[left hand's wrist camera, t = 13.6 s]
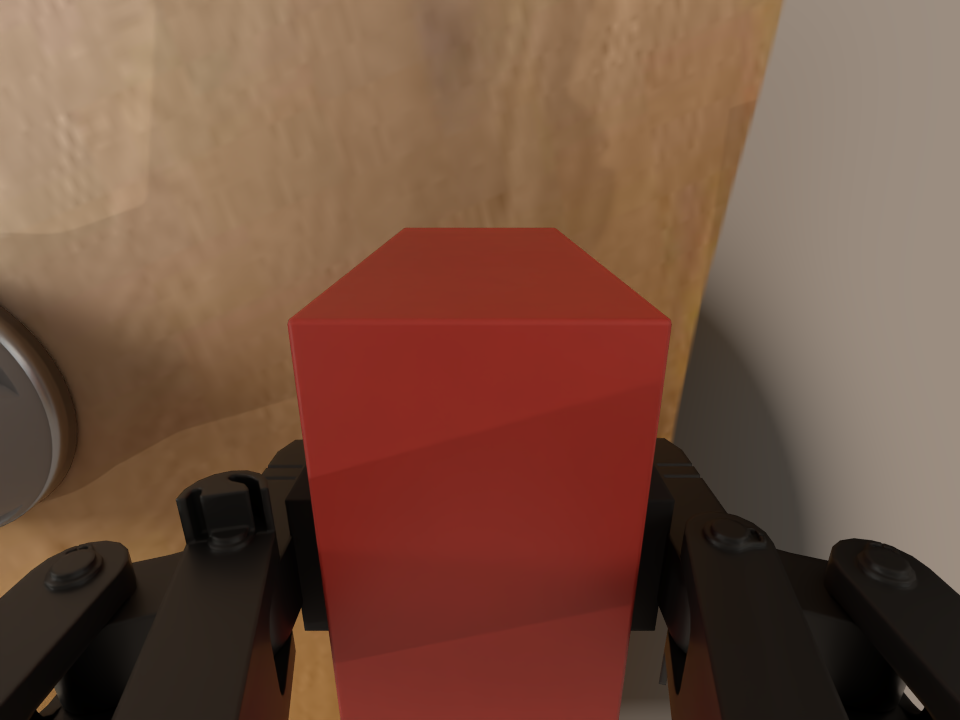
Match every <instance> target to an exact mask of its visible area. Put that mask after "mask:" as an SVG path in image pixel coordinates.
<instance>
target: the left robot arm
mask: <svg viewBox="0 0 960 720" xmlns="http://www.w3.org/2000/svg"><path fill="white" fill-rule="evenodd" d="M76 443H77V422H76V416H75V410H74V406H73V402H72V399H71V396H70V393H69V391H68V388H67V385H66V383H65V381H64V379H63V377H62V375H61V373H60V371H59V370H58V368H57V366H56V365H55V363H54V361H53V360H52V358H51V357H50V356H49V354H48V353H47V351H46V350H45V349H44V347H43V346H42V345H41V344H40V343H39V341H38V340H37V339H36V338H35V337H34V336H33V335H32V334H31V333H30V332H29V330H28V329H27V328H26V327H25V326H24V325H23V324H22V323H20V322H19V321H18V320H17V319H16V318H15V317H14V316H13V315H11V314H10V313H9V312H8V311H6V310H5V309H4V308H2V307H1V306H0V527H1V526H4V525H6V524H8V523H10V522H12V521H14V520H15V519H17V518H19V517H20V516H22V515H23V514H24V513H26V512H27V511H28V510H30V509H31V508H32V507H33V506H35V505H36V504H37V503H39V502H40V501H41V500H43V499H44V498H45V497H47V496H48V495H49V494H50V493H51V492H52V491H54V490H55V488H56V487H57V486H58V485H59V484H60V483H61V482H62V480H63V479H64V477H65V476H66V474H67V472H68V470H69V468H70V466H71V464H72V461H73V458H74V454H75V449H76ZM176 502H177V506H178V511H179V515H180V519H181V523H182V527H183V531H184V535H185V539H186V546H185V549H184V551H182V552H179V553H175V554H172V555H167V556H163V557H158V558H153V559H149V560H144V561H139V562H134V563H132V562H131V558H130V555H129V551H128V549H127V548H126V547H125V546H123V545H122V544H121V543H118V542H112V541H99V542H90V543H86V544H81V545H79V546H74V547H72V548H69V549H66V550H64V551H63V552H61V553H59V554H57V555H54V556H52V557H50V558H48V559H47V560H45V561H44V562H43V563H41V564H40V565H38V566H37V567H36V568H34V569H33V570H31V571H30V572H29V573H28V574H27V575H26V576H25V577H24V578H22V579H21V580H20V581H19V582H18V583H17V584H16V585H15V586H13V587H12V588H11V589H10V590H9V591H8V592H7V593H6V594H5V595H3V596H2V597H1V598H0V720H288V718H289V708H290V699H291V690H292V680H293V671H294V662H295V652H296V650H295V644H294V637H293V631H292V629H293V627H294V624H295V622H296V619H297V617H298V614H299V612H300V609H301V608H302V615H303V621H304V627H305V631H329V629H328V621H327V614H326V606H325V599H324V591H323V584H322V577H321V569H320V562H319V554H318V547H317V539H316V532H315V525H314V517H313V510H312V502H311V495H310V487H309V480H308V473H307V465H306V458H305V450H304V443H303V440H295V441H293V442H292V443H290V444H289V445H287V446H286V447H284V448H283V449H281V450H280V451H278V452H277V454H276V455H275V457H274V458H273V459H272V461H271V462H270V464H269V465H268V468H266V469H265V471H264V472H263V473H262V475H261V474H260V473H256V472H252V471H228V472H224V473H219V474H214V475H212V476H209V477H207V478H204V479H202V480H199V481H197V482H196V483H194V484H192V485H191V486H189V487H188V488H186V489H185V490H184V491H183V492H182V493H181V494H180V495H179V497H178V498H177V499H176ZM658 606H659V608H660V610H661V612H662V615H663V617H664V620H665V622H666V625H667V627H668V631H667V637H666V643H665V649H664V655H663V661H662V667H661V673H660V680H659V684H663V685H666V681H667V679H668V688H669V698H670V707H671V717H672V720H960V595H959V594H958V593H957V592H955V591H954V590H953V589H952V588H951V587H950V586H949V585H948V584H946V583H945V582H944V581H943V580H942V579H941V578H940V577H939V576H937V575H936V574H935V573H934V572H933V571H932V570H931V569H930V568H928V567H927V566H925V565H924V564H923V563H921V562H920V561H918V560H917V559H916V558H914V557H913V556H911V555H909V554H907V553H905V552H903V551H900V550H898V549H896V548H895V547H893V546H890V545H887V544H882V543H881V542H876V541H872V540H864V539H856V538H853V539H846V540H840V541H839V542H838V543H836V544H835V545H834V546H833V547H832V550H831V553H830V557H829V560H828V561H827V560H822V559H817V558H812V557H808V556H803V555H798V554H793V553H789V552H785V551H782V550H778V549H776V548H775V546H774V543H773V542H772V541H771V539H770V538H769V536H768V535H767V534H766V532H764V531H763V530H762V529H760V528H759V527H758V526H756V525H755V524H754V523H752V522H750V521H748V520H745V519H743V518H741V517H739V516H736V515H732V514H728V513H727V512H726V511H725V509H724V508H723V507H722V505H721V504H720V502H719V501H718V500H717V498H716V497H715V496H714V494H713V493H712V491H711V490H710V488H709V487H708V486H707V484H706V483H705V481H704V480H703V479H702V478H700V474H699V473H698V472H697V470H696V469H695V468H694V467H693V466H692V463H691V462H690V461H689V459H688V458H687V456H686V455H685V454H684V452H683V451H682V450H681V449H680V448H678V447H677V446H675V445H674V444H672V443H671V442H669V441H668V440H666V439H665V438H656V445H655V452H654V459H653V467H652V474H651V482H650V489H649V497H648V504H647V512H646V519H645V527H644V534H643V541H642V549H641V556H640V564H639V571H638V579H637V586H636V594H635V601H634V609H633V616H632V624H631V631H654V630H655V625H656V619H657V612H658ZM906 685H907V686H908V687H909V689H910V690H911V691H912V692H913V693H914V695H915V696H916V697H917V698H918V700H919V701H920V702H921V703H922V704H923V706H924V709H923V710H922V711H920V710H919V709H918V708H917V707H916V706H915V705H914V704H913V703H912V702H911V701H910V699H909V698H908V697H907V696H906V695H905V693H904V689H905V687H906ZM53 688H55V691H56V693H57V695H56V696H55V697H54V698H53V700H52V701H51V702H50V703H49V704H48V706H46V707H45V708H44V709H43V710H42V711H41V712H40V713H38V712H37V710H36V709H37V708H38V707H39V705H40V704H41V703H42V702H43V700H44V699H45V698H46V697H47V696H48V694H49V693H50V692H51V691H52V690H53Z"/></svg>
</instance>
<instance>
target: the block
mask: <svg viewBox="0 0 960 720" xmlns="http://www.w3.org/2000/svg"><path fill="white" fill-rule="evenodd" d="M671 325H672V324H671V320H670V319H669V318H668V317H666V316H665V315H664V314H663V313H661V312H660V311H659V310H658V309H656V308H655V307H654V306H653V305H651V304H650V303H649V302H648V301H646V300H645V299H644V298H642V297H641V296H640V295H639V294H637V293H636V292H635V291H634V290H632V289H631V288H630V287H629V286H627V285H626V284H625V283H624V282H622V281H621V280H620V279H619V278H617V277H616V276H615V275H614V274H612V273H611V272H610V271H609V270H607V269H606V268H605V267H604V266H602V265H601V264H600V263H599V262H597V261H596V260H595V259H593V258H592V257H591V256H590V255H588V254H587V253H586V252H585V251H583V250H582V249H581V248H580V247H578V246H577V245H576V244H575V243H573V242H572V241H571V240H570V239H568V238H567V237H566V236H565V235H563V234H562V233H561V232H560V231H558V230H557V229H556V228H404V229H403V230H401V231H400V232H399V233H398V234H396V235H395V236H394V237H392V238H391V239H390V240H389V241H387V242H386V243H385V244H384V245H382V246H381V247H380V248H379V249H377V250H376V251H375V252H374V253H372V254H371V255H370V256H368V257H367V258H366V259H365V260H363V261H362V262H361V263H360V264H358V265H357V266H356V267H355V268H353V269H352V270H351V271H350V272H348V273H347V274H346V275H345V276H343V277H342V278H341V279H339V280H338V281H337V282H336V283H334V284H333V285H332V286H331V287H329V288H328V289H327V290H326V291H324V292H323V293H322V294H321V295H319V296H318V297H317V298H316V299H314V300H313V301H312V302H310V303H309V304H308V305H307V306H305V307H304V308H303V309H302V310H300V311H299V312H298V313H297V314H295V315H294V316H293V317H292V318H290V319H289V321H288V331H289V339H290V346H291V354H292V361H293V369H294V376H295V383H296V391H297V398H298V406H299V413H300V421H301V428H302V435H303V443H304V450H305V458H306V465H307V473H308V480H309V487H310V495H311V502H312V510H313V517H314V525H315V532H316V539H317V547H318V554H319V562H320V569H321V577H322V584H323V591H324V599H325V606H326V614H327V621H328V629H329V636H330V643H331V651H332V658H333V666H334V673H335V681H336V688H337V695H338V703H339V710H340V718H341V720H619V713H620V705H621V698H622V691H623V683H624V676H625V668H626V661H627V653H628V646H629V638H630V631H631V624H632V616H633V609H634V601H635V594H636V586H637V579H638V571H639V564H640V556H641V549H642V541H643V534H644V527H645V519H646V512H647V504H648V497H649V489H650V482H651V474H652V467H653V459H654V452H655V445H656V437H657V430H658V422H659V415H660V407H661V400H662V392H663V385H664V377H665V370H666V362H667V355H668V348H669V340H670V333H671Z"/></svg>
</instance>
